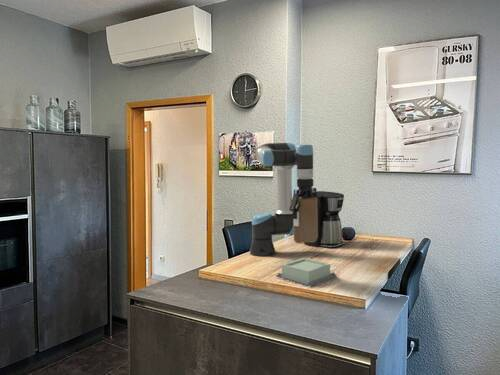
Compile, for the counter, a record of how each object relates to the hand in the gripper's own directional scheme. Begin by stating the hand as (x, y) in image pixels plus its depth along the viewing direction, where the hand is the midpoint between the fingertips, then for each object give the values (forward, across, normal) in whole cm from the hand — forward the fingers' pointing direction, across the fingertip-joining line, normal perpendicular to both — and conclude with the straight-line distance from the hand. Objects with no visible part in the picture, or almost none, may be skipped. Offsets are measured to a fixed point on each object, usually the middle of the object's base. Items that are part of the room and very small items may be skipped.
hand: (305, 224), depth 183 cm
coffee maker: (+25, +64, +38) cm, 79 cm away
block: (+8, 0, 0) cm, 8 cm away
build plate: (+25, 0, 0) cm, 25 cm away
